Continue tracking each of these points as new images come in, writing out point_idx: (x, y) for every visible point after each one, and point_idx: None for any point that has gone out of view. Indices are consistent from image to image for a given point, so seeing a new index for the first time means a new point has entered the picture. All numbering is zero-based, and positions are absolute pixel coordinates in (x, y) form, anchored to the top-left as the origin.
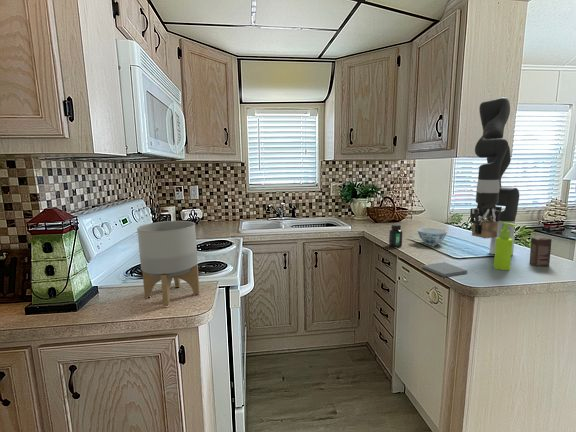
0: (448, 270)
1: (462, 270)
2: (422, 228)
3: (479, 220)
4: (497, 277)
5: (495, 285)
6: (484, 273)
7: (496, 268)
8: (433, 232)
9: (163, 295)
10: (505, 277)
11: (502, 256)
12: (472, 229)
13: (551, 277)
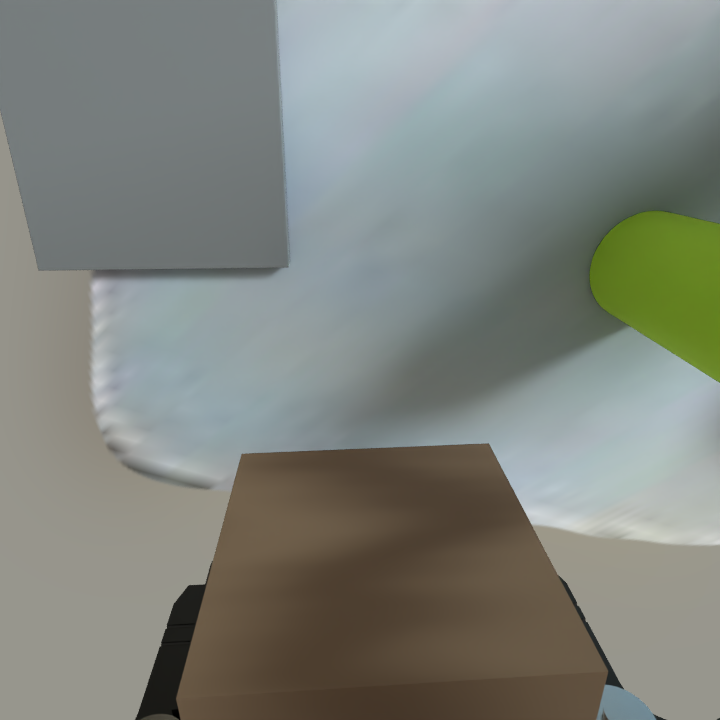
0: (131, 212)
1: (249, 254)
2: None
3: (382, 713)
4: (416, 396)
5: None
6: (409, 310)
7: (591, 266)
8: None
9: None
10: (463, 412)
11: (655, 334)
12: (222, 527)
13: (701, 491)
